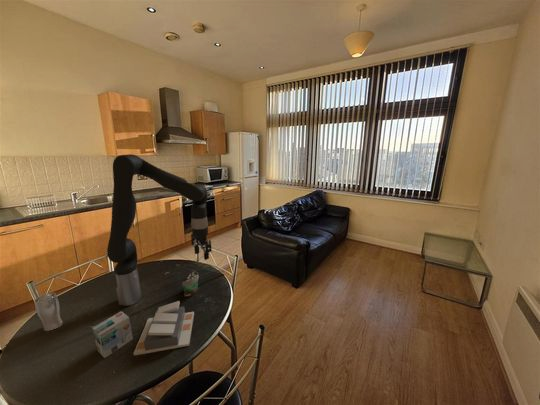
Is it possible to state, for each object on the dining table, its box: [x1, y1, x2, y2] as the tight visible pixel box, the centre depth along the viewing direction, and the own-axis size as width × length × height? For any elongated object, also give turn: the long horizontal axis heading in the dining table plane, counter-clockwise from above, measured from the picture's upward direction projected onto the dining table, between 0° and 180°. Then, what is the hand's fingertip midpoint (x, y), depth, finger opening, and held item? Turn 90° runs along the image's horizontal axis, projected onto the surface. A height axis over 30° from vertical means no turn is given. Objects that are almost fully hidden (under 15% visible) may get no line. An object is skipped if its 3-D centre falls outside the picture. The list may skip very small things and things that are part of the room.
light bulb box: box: [92, 311, 133, 359], centre depth 87 cm, size 11×7×11 cm, turn 148°
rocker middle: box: [153, 312, 178, 324], centre depth 92 cm, size 9×4×1 cm, turn 103°
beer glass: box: [34, 292, 64, 332], centre depth 95 cm, size 7×7×15 cm
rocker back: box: [157, 300, 181, 313], centre depth 98 cm, size 9×4×1 cm, turn 102°
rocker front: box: [148, 324, 176, 335], centre depth 87 cm, size 9×4×1 cm, turn 103°
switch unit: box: [133, 305, 195, 356], centre depth 93 cm, size 20×18×6 cm
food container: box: [181, 269, 200, 298], centre depth 119 cm, size 12×6×10 cm, turn 179°
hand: (201, 256), depth 109 cm, fingers open, 8 cm apart
